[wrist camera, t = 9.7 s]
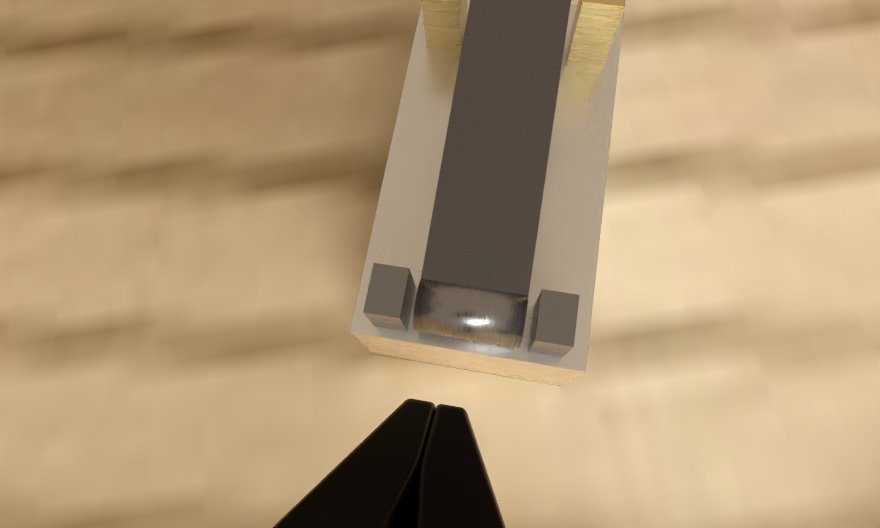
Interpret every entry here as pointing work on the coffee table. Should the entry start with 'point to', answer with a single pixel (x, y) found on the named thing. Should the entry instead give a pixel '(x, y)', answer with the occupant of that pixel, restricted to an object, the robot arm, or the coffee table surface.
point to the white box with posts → (561, 218)
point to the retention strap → (493, 173)
